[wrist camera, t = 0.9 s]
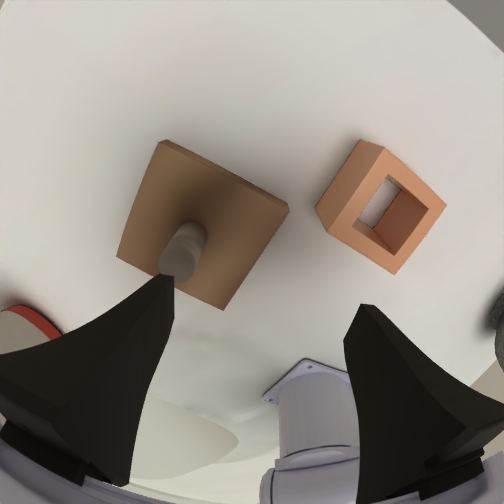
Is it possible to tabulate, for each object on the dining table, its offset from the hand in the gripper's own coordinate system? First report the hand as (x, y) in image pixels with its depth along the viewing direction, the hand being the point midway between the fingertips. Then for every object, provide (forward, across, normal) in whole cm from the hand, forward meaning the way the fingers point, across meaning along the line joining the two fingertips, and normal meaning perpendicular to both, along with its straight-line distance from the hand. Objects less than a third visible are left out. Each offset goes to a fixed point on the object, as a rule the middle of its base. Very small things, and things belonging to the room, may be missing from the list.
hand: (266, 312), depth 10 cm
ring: (+10, -7, -3) cm, 12 cm away
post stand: (+10, +4, +1) cm, 11 cm away
